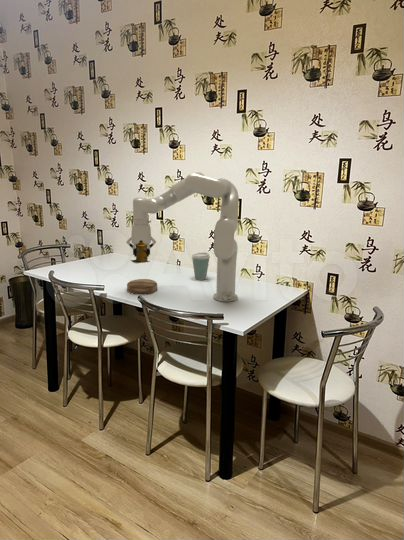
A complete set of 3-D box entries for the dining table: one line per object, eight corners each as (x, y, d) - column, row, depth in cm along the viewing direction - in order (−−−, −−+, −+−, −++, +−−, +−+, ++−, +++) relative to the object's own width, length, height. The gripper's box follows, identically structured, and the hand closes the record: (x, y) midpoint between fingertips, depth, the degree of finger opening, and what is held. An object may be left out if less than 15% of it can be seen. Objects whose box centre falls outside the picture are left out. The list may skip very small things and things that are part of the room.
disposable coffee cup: (194, 281, 247) (194, 256, 243) (189, 276, 257) (189, 252, 253) (211, 280, 250) (212, 255, 246) (206, 275, 260) (207, 251, 256)
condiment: (150, 261, 226) (150, 239, 223) (135, 263, 221) (135, 241, 218) (144, 259, 232) (143, 237, 229) (129, 260, 227) (129, 238, 224)
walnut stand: (157, 294, 224) (156, 287, 223) (125, 294, 222) (125, 287, 221) (157, 285, 239) (157, 278, 238) (128, 285, 238) (128, 278, 237)
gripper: (157, 221, 225) (158, 254, 230) (124, 221, 224) (125, 254, 229) (157, 223, 218) (158, 257, 223) (123, 223, 217) (124, 257, 222)
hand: (141, 255), depth 226 cm, fingers closed on condiment, 6 cm apart
